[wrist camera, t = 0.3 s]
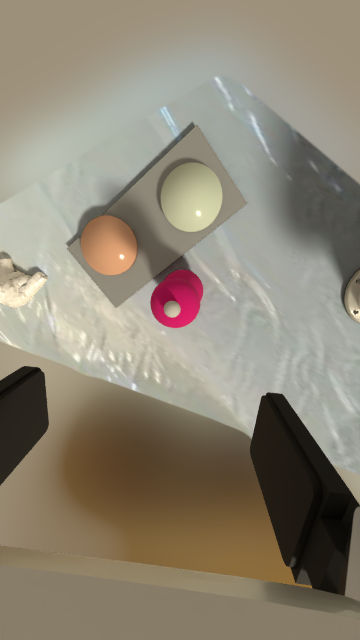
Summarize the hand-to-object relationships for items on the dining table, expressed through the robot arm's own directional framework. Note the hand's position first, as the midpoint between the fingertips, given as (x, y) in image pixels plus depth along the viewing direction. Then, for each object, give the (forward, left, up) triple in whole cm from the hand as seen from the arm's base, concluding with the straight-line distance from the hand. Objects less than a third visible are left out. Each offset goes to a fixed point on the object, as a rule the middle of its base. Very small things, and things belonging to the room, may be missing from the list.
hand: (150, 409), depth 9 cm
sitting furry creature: (+26, -21, -34) cm, 48 cm away
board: (-2, -13, -34) cm, 36 cm away
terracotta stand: (+6, -15, -32) cm, 36 cm away
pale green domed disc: (-10, -12, -32) cm, 36 cm away
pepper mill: (0, -1, -34) cm, 34 cm away
